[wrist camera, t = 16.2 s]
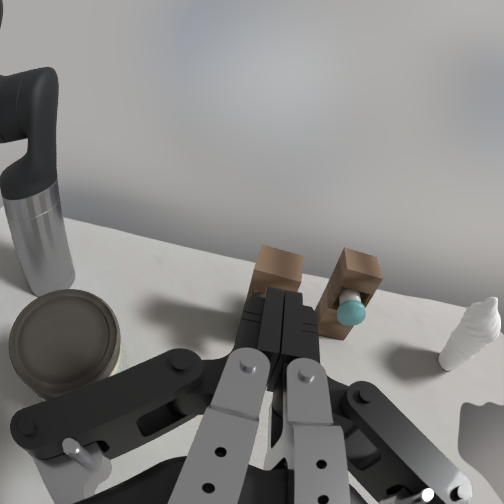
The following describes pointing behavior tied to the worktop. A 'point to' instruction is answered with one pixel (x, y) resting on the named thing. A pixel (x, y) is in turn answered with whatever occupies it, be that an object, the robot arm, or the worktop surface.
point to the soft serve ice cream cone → (471, 334)
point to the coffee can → (66, 343)
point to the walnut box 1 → (276, 271)
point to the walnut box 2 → (349, 276)
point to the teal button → (350, 307)
